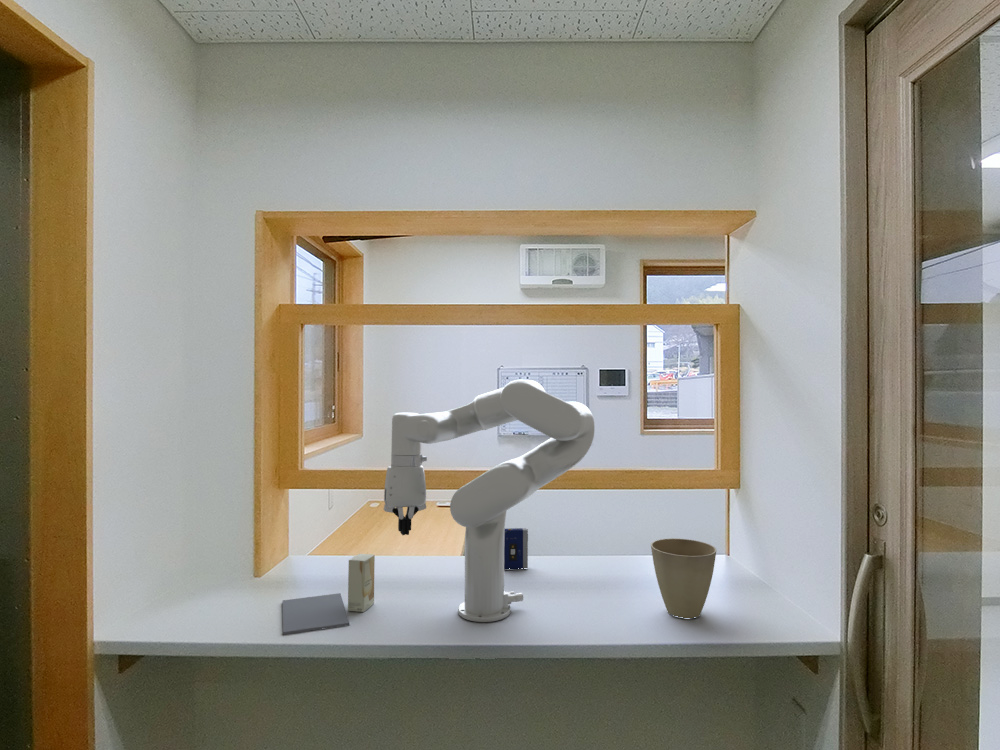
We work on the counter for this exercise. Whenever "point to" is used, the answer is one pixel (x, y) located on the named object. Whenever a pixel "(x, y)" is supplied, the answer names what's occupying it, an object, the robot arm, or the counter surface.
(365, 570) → the skincare box
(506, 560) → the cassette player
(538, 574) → the counter surface
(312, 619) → the mat
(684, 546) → the plant pot
